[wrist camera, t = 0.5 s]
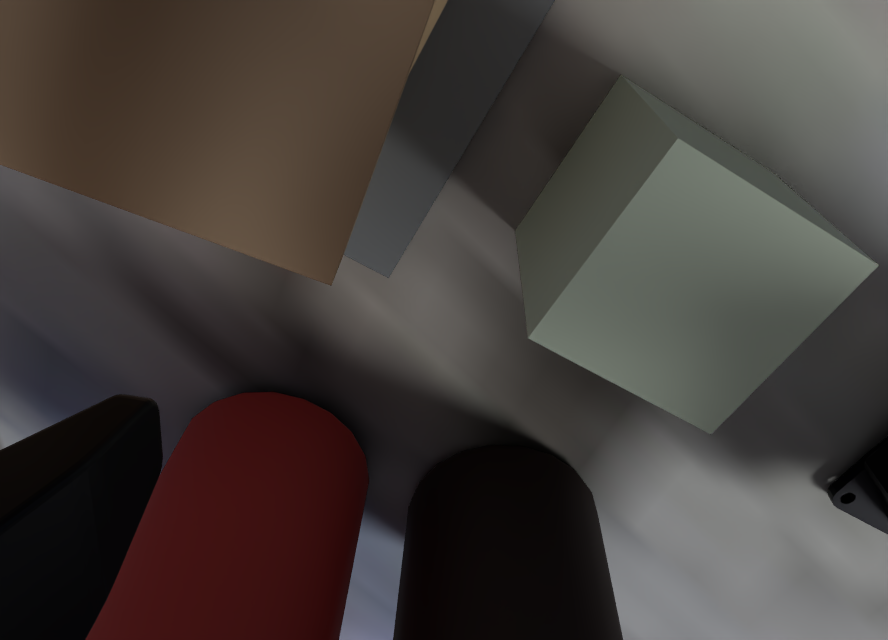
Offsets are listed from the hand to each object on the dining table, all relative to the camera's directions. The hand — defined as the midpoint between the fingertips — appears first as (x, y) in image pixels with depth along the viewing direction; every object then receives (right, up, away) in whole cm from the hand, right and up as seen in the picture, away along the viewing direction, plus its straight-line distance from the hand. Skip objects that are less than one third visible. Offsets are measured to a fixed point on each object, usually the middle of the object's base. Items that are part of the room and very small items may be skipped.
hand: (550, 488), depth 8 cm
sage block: (+4, +5, +12) cm, 14 cm away
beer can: (-7, -3, +17) cm, 19 cm away
